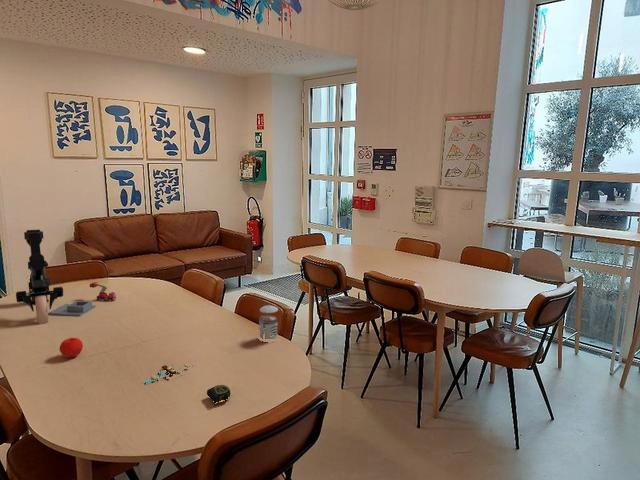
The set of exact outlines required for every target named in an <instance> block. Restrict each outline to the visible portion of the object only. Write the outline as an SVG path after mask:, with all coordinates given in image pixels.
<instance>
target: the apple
mask: <svg viewBox="0 0 640 480" xmlns="http://www.w3.org/2000/svg"><path fill="white" fill-rule="evenodd" d="M83 348H84V345H83V341H82V340H81V339H79V338H78V337H70V338H66V339H64V340H63V341H62V342H61V343H60V345H59V348H58V350H59V352H60V354H61V355H63V356H65V357H66V358H75V357H77V356H79V355H80V354H81V352H82V351H83Z"/></svg>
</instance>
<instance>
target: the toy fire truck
mask: <svg viewBox="0 0 640 480" xmlns="http://www.w3.org/2000/svg"><path fill="white" fill-rule="evenodd" d="M97 287H100V288H101V290H100V291H99V293H98V295H97V296H96V297H95V298H96V300H97V301H100V302H101V301H103V302H104V301H109V302H115V301H116V300H117V293H115V292H114V291H111V292H109V293H107V292H106V290H107V289H108V288H109V287H108V286H107V285H104V284H101V283H99V282H98V281H96V282H95V281H94V282H92V283H89V288H94V289H95V288H97Z"/></svg>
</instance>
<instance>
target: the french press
mask: <svg viewBox="0 0 640 480" xmlns="http://www.w3.org/2000/svg"><path fill="white" fill-rule="evenodd" d="M266 287H267V289H268V291H270V289H271V288H272V285H271V284H267V286H266ZM259 311H260V313H263V314H268V315H263V314H261V316H260V317H259V320H258V322H259V323H258V329H259V336H260V337H261V338H262V339H263V334H264V333H265V339H275V338H277V336H278V318H277V317H276V316H274V315H270V314H274V313H277V312H278V311H279V308H278V307H276V306H274V305H270V304H268V305H263V306H262V307H261V308H259ZM271 333H273V334H271ZM270 334H271V335H270ZM272 335H274V336H272ZM270 336H272V337H270Z"/></svg>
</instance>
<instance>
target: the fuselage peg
mask: <svg viewBox="0 0 640 480" xmlns="http://www.w3.org/2000/svg"><path fill="white" fill-rule="evenodd" d="M35 303H36V304H35V310H36V311H35V313H36V323H37V325H46V324H47V323H49V315H48V313H49V312H48V302H47V300H46V296H37V297H35Z"/></svg>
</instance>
